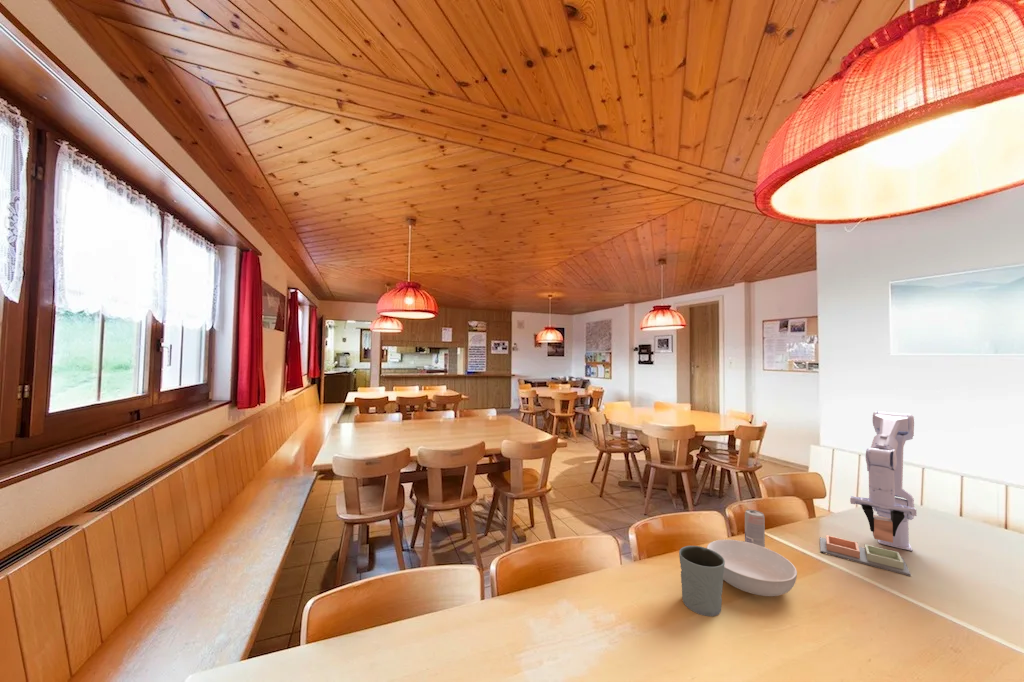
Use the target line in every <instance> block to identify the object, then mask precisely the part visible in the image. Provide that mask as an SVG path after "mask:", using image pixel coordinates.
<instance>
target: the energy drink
mask: <svg viewBox="0 0 1024 682" xmlns="http://www.w3.org/2000/svg"><path fill="white" fill-rule="evenodd" d="M765 523H766V522H765V514H764V513H763V512H761V511H759V510H756V509H746V510H745V512H744V542H749V543H753V544H756V545H759V546H762V547H765V548H766V544H765V543H766V542H765V541H766V540H765V537H766V533H765V532H766V531H765V529H766V526H765Z"/></svg>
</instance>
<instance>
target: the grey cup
mask: <svg viewBox="0 0 1024 682" xmlns="http://www.w3.org/2000/svg"><path fill="white" fill-rule="evenodd" d="M678 553H679V555H678V557H679V564H680V579H681V581H680V583H681V597H682V602H683V604H684V605H685V607H687V609H689V610H690V611H692V612H693V613H695V614H698V615H701V616H705V617H716V616H719V615H720V614H721V612H722V604H723V603H722V602H723V599H722V594H723V587H724V586H723V585H724V580H723V573H724V565H725V560H724V558H723V557H722V556H721V555H720V554H718V553H717V552H715V551H713V550H710V549H708V548H707V547H705V546H699V545H686V546H683V547H681V548H680V549H679V551H678Z"/></svg>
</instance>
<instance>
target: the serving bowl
mask: <svg viewBox="0 0 1024 682" xmlns="http://www.w3.org/2000/svg"><path fill="white" fill-rule="evenodd" d="M706 548H708V549H710V550H713V551H715V552H717V553H718V554H720V555H721V556H722V557H723V558H724V560H725V565H724V573H723V582H724V581H725V582H726V583H727V584H729V585H731V586H732V587H734V588H736V589H739V590H740V591H743V592H745V593H749V594H752V595H756V596H763V597H777V596H781V595H785V594H786V593H788V592H790V591H791V590H792V589H793V587H795V584H796V581H797V576H798V570H797V568H796V566H795V565H794V564H793V563H792V562H791V561H790V560H789V559H788V558H786V557H785V556H783V555H782V554H780V553H778V552H776V551H774V550H772V549H770V548H767V547H766V546H765V547H762V546H759V545H756V544H753V543H749V542H745V540H744V541H743V540H736V539H726V538H725V539H717V540H714V541H710V542H709V543H708V544H707V545H706Z"/></svg>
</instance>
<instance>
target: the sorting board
mask: <svg viewBox="0 0 1024 682" xmlns="http://www.w3.org/2000/svg"><path fill="white" fill-rule="evenodd" d="M825 537H826V538H824V537H819V544H820V545H819V547H820V553H821V552H823V553H822V554H824V553H827V554H826V555H828V554H830V555H829V556H832V555H834V556H833V557H836V556H838V557H837V558H840V557H841V559H843V558H845V559H844V560H847V559H849V560H848V561H851V560H852V562H856V563H859V564H863V565H867V566H871V567H874V568H878V569H880V570H881V569H882V570H886V571H890V572H892V573H897V574H900V575H901V574H902V575H904V576H908V577H911V575H912V574H911V572H910V570H909V567H908V565H907V563H906V561H905V559H904V557H903V556H901V554H900V552H899V551H895V550H891V549H886V548H884V547H883V548H882V547H878V546H875V545H870V544H864V547H863V546H859V544H858V542H857V541H853V540H849V539H845V538H840V537H838V536H837V537H836V536H832V535H828V534H826V535H825Z"/></svg>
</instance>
